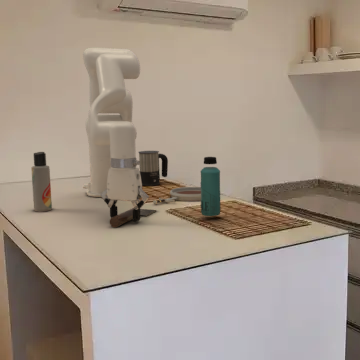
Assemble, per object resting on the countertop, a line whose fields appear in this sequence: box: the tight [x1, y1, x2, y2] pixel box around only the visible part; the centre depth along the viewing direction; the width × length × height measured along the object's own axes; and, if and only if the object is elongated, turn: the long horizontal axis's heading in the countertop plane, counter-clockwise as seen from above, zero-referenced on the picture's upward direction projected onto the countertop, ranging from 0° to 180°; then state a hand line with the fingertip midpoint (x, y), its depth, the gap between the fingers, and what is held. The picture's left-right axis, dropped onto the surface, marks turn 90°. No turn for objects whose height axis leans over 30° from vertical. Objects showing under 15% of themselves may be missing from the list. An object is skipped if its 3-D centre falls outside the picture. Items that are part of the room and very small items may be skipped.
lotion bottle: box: [31, 151, 53, 213], centre depth 168 cm, size 6×6×20 cm
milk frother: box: [138, 150, 169, 187], centre depth 224 cm, size 14×16×15 cm
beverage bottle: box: [199, 156, 222, 217], centre depth 157 cm, size 6×7×20 cm
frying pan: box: [152, 186, 201, 206], centre depth 189 cm, size 17×3×28 cm
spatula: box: [109, 207, 157, 228], centre depth 158 cm, size 23×6×3 cm, turn 165°
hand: (125, 219), depth 154 cm, fingers open, 7 cm apart
